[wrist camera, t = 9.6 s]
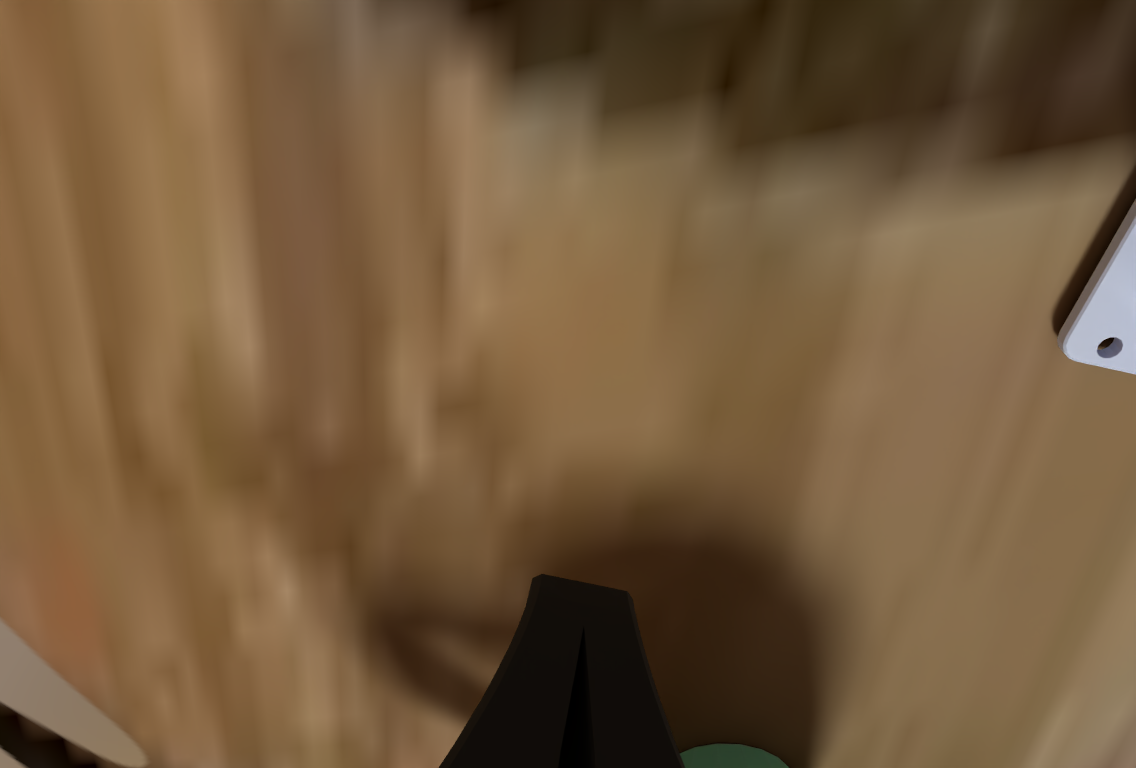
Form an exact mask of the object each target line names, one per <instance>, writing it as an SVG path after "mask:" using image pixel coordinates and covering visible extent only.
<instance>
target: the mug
mask: <svg viewBox="0 0 1136 768" xmlns="http://www.w3.org/2000/svg"><path fill="white" fill-rule="evenodd" d="M680 756H681V758H682V761H683V763H684V766H685V768H789V767H788V766H787V765H786V764H785V763H784V762H783V761H782V760H781V759H779V758H778V757H777V756H775V755H773V754H771V753H769V752H767V751H765V750H763V749H758V748H754V747H750V746H746V745H742V744H720V743H716V744H711V745H705V746H699V747H694V748H692V749H689V750H687V751H684V752H682V753H680Z"/></svg>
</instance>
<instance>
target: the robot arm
mask: <svg viewBox="0 0 1136 768" xmlns="http://www.w3.org/2000/svg"><path fill="white" fill-rule="evenodd" d="M1110 337H1114V340H1113V342H1112V343H1111V344H1110V345H1109V347H1106V348H1104V349H1102V350H1097V348H1098V345H1099V344H1100V343H1101V342H1102V341H1103V340H1105V339H1107V338H1110ZM1057 340H1058V346H1059V347H1060V349H1061V350H1062V351H1063V352H1064V354H1065V355H1066V356H1067V357H1068V358H1070V359H1072V360H1074V361H1077V362H1082V363H1086V364H1091V365H1095V366H1100V367H1105V368H1109V369H1114V370H1118V371H1123V372H1128V373H1132V374H1136V199H1135V201H1134V203H1133V205H1132V206H1131V208H1130V210H1129V211H1128V213H1127V215H1126V217H1125V218H1124V220H1123V222H1122V224H1121V225H1120V227H1119V229H1118V231H1117V232H1116V234H1115V236H1114V238H1113V239H1112V241H1111V243H1110V245H1109V246H1108V248H1107V250H1106V252H1105V253H1104V255H1103V257H1102V259H1101V260H1100V262H1099V264H1098V266H1097V267H1096V269H1095V271H1094V272H1093V274H1092V276H1091V278H1090V279H1089V281H1088V283H1087V285H1086V286H1085V288H1084V290H1083V292H1082V293H1081V295H1080V297H1079V299H1078V300H1077V302H1076V304H1075V306H1074V307H1073V309H1072V311H1071V313H1070V314H1069V316H1068V318H1067V320H1066V321H1065V323H1064V325H1063V327H1062V328H1061V330H1060V332H1059V335H1058V338H1057ZM439 768H685V766H684V763H683V761H682V758H681V756H680V753H679V751H678V748H677V745H676V743H675V740H674V738H673V735H672V732H671V729H670V726H669V724H668V721H667V718H666V715H665V712H664V710H663V707H662V704H661V701H660V699H659V696H658V693H657V689H656V686H655V683H654V680H653V677H652V674H651V670H650V667H649V664H648V660H647V657H646V654H645V650H644V647H643V643H642V639H641V635H640V631H639V627H638V623H637V619H636V614H635V610H634V604H633V599H632V598H631V596H630V595H629V593H628V592H627V591H623V590H618V589H613V588H608V587H603V586H599V585H594V584H589V583H584V582H579V581H574V580H569V579H564V578H559V577H554V576H549V575H544V574H541V575H539V576H537V577H534V578H533V579H532V583H531V587H530V591H529V595H528V599H527V603H526V607H525V610H524V613H523V616H522V618H521V621H520V623H519V626H518V628H517V630H516V633H515V635H514V637H513V639H512V642H511V644H510V646H509V648H508V650H507V652H506V654H505V656H504V658H503V660H502V662H501V664H500V666H499V668H498V670H497V672H496V674H495V676H494V677H493V679H492V681H491V683H490V685H489V687H488V689H487V691H486V693H485V694H484V696H483V698H482V700H481V701H480V703H479V705H478V706H477V708H476V709H475V711H474V713H473V714H472V716H471V718H470V719H469V721H468V723H467V724H466V726H465V727H464V729H463V731H462V732H461V734H460V736H459V737H458V739H457V741H456V742H455V744H454V745H453V747H452V748H451V750H450V752H449V753H448V755H447V756H446V757H445V759H444V760H443V762H442V763H441V765H440V766H439Z"/></svg>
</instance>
